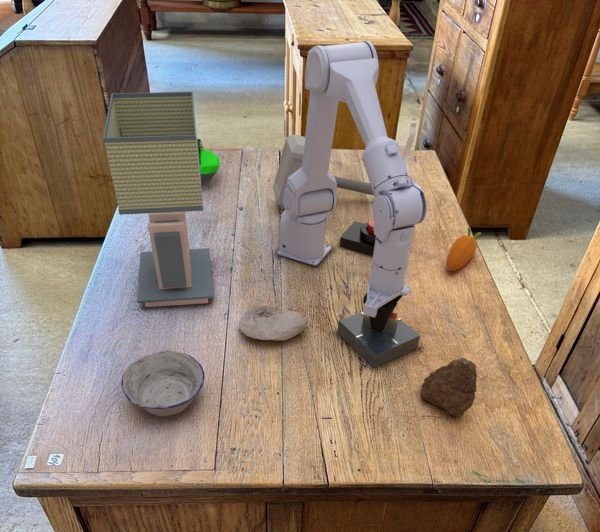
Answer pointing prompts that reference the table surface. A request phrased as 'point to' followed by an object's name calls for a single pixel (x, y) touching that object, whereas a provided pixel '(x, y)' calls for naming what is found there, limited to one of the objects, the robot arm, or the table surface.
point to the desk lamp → (160, 190)
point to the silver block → (390, 325)
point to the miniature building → (207, 163)
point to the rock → (452, 386)
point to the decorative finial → (409, 143)
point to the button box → (358, 238)
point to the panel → (377, 340)
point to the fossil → (272, 323)
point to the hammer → (293, 162)
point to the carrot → (462, 251)
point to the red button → (371, 226)
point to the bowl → (163, 382)
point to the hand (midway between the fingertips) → (379, 326)
